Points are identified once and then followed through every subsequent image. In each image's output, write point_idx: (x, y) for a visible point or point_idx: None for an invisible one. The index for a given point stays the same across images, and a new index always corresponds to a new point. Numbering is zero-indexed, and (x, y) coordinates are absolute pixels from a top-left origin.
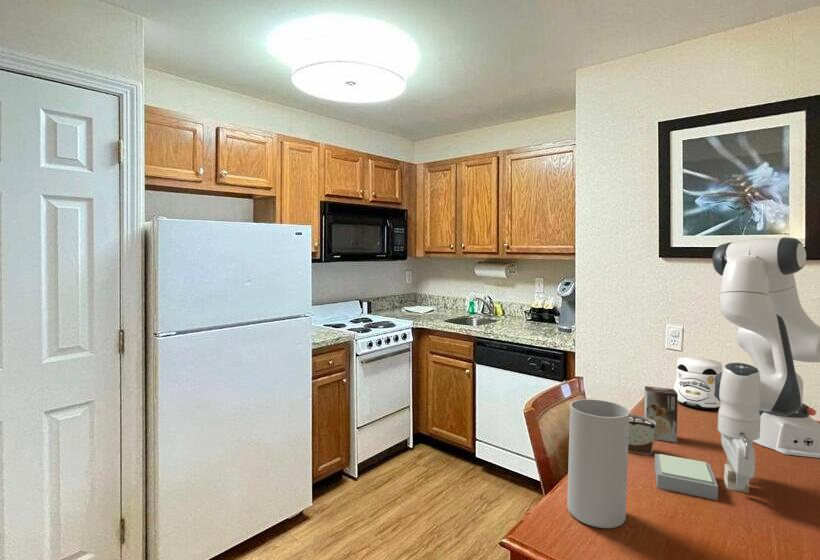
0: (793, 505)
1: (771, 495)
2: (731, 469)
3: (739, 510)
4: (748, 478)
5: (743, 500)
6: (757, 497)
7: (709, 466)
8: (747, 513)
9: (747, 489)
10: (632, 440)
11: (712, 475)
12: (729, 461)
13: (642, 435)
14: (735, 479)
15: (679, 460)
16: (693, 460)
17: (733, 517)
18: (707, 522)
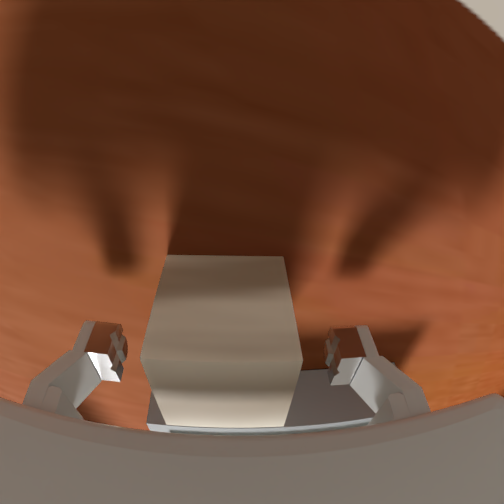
0: (362, 35)
1: (252, 127)
2: (255, 417)
3: (456, 313)
4: (295, 335)
5: (379, 292)
6: (324, 223)
7: (192, 429)
8: (474, 293)
9: (284, 277)
10: None
11: (306, 428)
12: (87, 388)
13: None
14: (336, 382)
15: None
16: None
17: (486, 328)
18: (491, 367)
